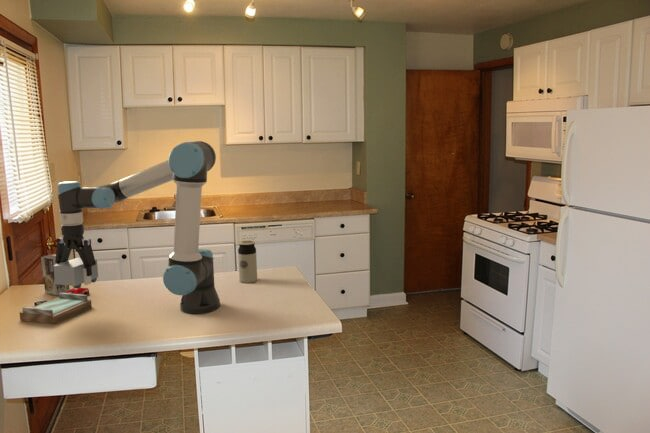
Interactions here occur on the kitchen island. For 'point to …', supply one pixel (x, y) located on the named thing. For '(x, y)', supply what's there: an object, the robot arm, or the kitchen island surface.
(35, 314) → the tray
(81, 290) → the race car
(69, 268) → the grey cart
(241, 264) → the travel mug
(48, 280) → the coffee box
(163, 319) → the kitchen island surface
